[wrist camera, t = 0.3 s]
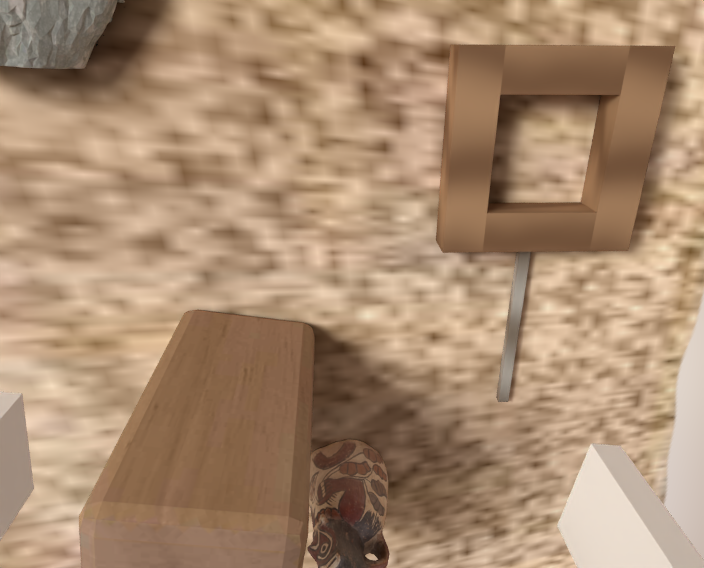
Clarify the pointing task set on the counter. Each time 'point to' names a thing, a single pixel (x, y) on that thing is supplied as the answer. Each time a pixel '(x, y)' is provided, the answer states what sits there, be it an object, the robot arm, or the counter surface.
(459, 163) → the brown square frame
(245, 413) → the wooden block
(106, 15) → the decorative stone
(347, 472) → the figurine
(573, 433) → the counter surface
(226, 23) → the counter surface
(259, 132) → the counter surface
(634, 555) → the robot arm
